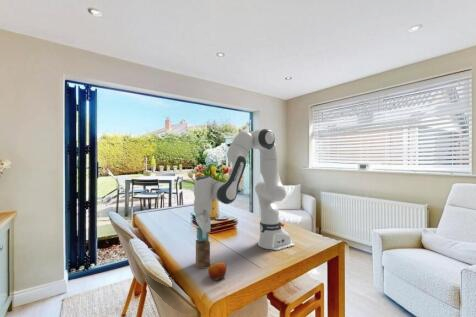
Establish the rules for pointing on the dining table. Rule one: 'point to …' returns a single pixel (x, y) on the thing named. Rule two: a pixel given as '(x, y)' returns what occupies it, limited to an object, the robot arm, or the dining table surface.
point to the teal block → (199, 235)
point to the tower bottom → (202, 261)
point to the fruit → (217, 270)
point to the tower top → (202, 248)
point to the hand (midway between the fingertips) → (202, 235)
